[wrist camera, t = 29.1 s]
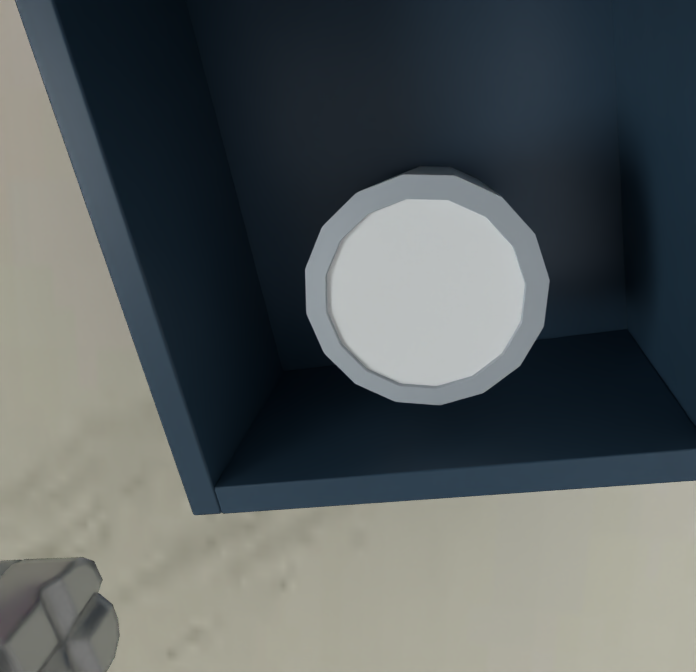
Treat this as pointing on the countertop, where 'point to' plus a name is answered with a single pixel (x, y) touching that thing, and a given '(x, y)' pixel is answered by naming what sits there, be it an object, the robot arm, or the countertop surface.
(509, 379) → the dark blue open box
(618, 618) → the countertop surface
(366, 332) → the shot glass
